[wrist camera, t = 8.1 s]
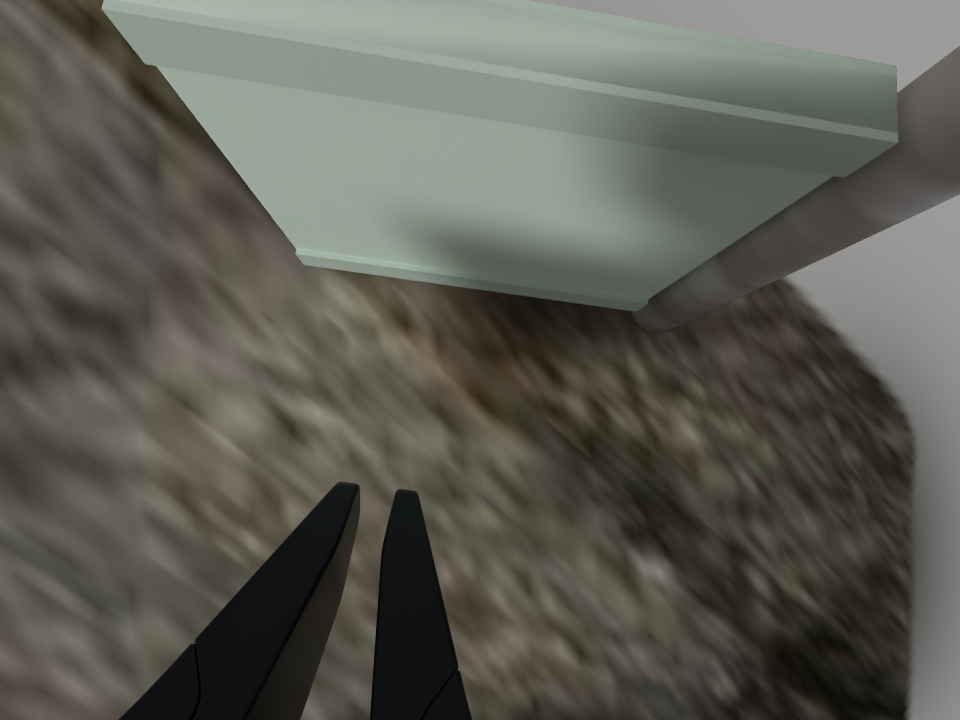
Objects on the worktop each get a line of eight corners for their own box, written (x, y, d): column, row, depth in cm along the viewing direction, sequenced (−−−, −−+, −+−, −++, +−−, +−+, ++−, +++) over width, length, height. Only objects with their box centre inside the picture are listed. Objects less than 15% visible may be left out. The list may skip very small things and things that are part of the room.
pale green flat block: (638, 276, 21) (896, 65, 9) (635, 311, 21) (898, 142, 9) (310, 228, 20) (124, -73, 8) (304, 264, 20) (101, 8, 8)
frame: (684, 248, 23) (1053, -37, 9) (679, 336, 22) (1071, 171, 8) (318, 191, 22) (111, -228, 8) (300, 281, 21) (39, -10, 7)
